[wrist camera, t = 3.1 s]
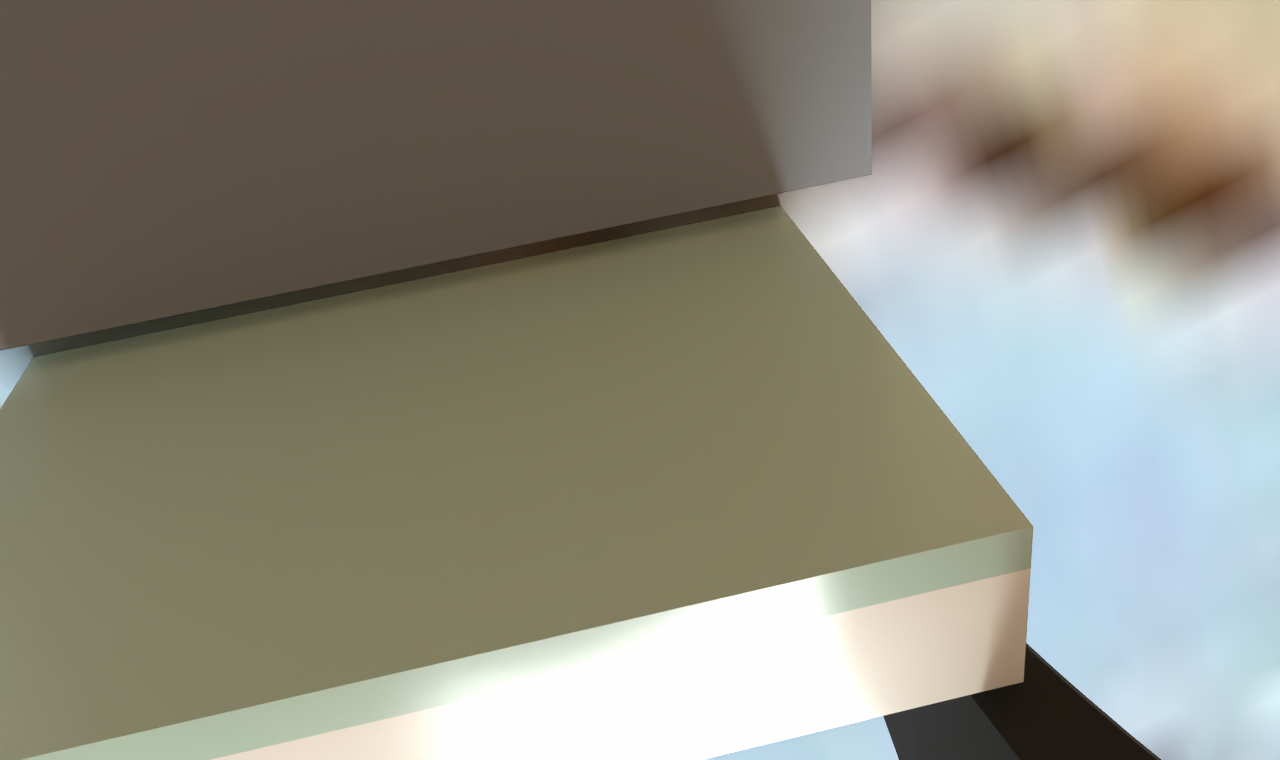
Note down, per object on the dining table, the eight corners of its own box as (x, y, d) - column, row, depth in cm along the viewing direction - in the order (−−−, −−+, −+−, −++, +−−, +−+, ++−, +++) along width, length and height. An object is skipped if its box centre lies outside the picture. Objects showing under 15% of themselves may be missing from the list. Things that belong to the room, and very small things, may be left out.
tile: (89, 465, 14) (-140, 963, 8) (34, 355, 13) (-265, 825, 7) (788, 317, 14) (1024, 681, 9) (779, 204, 13) (1034, 525, 8)
